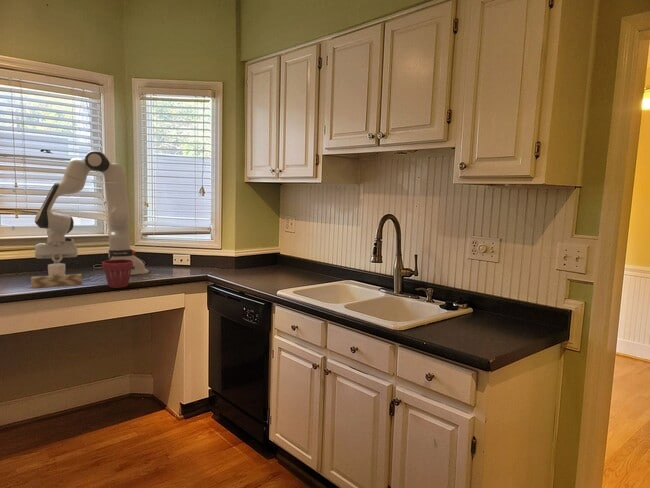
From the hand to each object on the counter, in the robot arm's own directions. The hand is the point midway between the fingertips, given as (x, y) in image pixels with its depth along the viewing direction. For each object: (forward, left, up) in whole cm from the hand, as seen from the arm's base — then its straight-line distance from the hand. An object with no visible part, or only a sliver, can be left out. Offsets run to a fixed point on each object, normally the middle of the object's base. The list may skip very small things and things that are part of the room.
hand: (57, 263), depth 252 cm
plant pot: (-27, +33, -9) cm, 44 cm away
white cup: (0, +16, -9) cm, 18 cm away
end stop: (0, +20, -8) cm, 21 cm away
